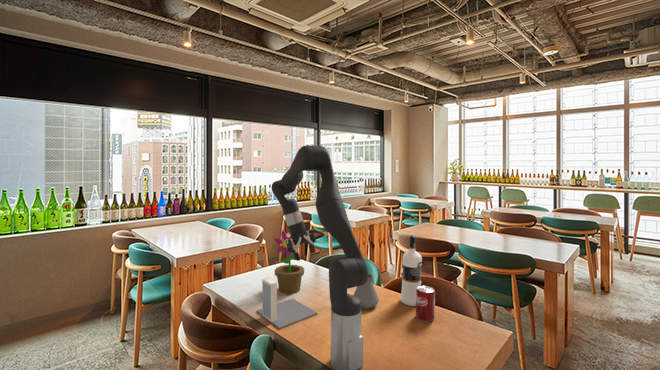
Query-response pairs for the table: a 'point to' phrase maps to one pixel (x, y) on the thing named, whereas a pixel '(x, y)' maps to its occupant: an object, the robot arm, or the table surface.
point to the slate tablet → (269, 299)
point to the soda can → (425, 303)
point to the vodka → (411, 274)
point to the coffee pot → (367, 294)
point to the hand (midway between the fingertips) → (306, 256)
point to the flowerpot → (288, 270)
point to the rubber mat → (290, 313)
